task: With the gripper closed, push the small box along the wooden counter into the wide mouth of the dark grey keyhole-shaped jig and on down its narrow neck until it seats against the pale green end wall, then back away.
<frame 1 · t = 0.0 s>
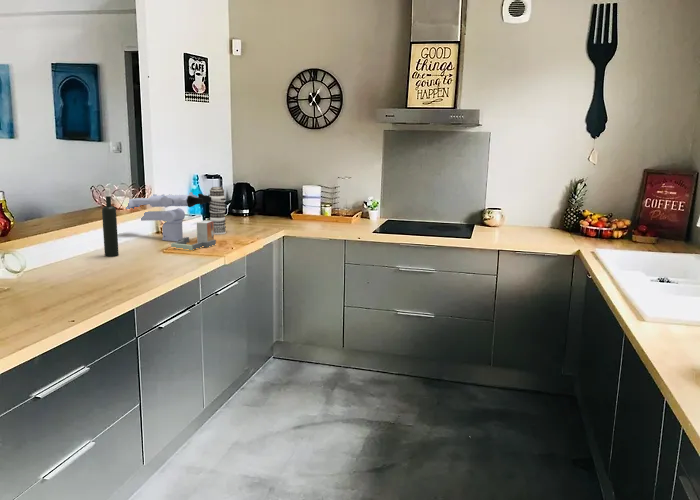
hand: (206, 199, 291), 22 cm above the worktop, tool horizontal, fingers open, 7 cm apart
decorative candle: (217, 233, 323), on the worktop
keyhole jig: (191, 246, 286), on the worktop
small box: (205, 242, 299), on the worktop
wine bottle: (111, 256, 264), on the worktop
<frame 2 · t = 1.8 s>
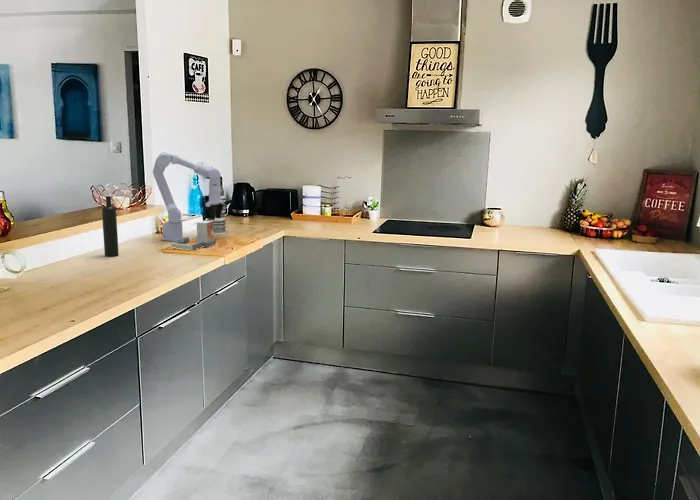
hand: (215, 218, 305), 10 cm above the worktop, tool pointing down, fingers open, 5 cm apart
nothing on the worktop moved.
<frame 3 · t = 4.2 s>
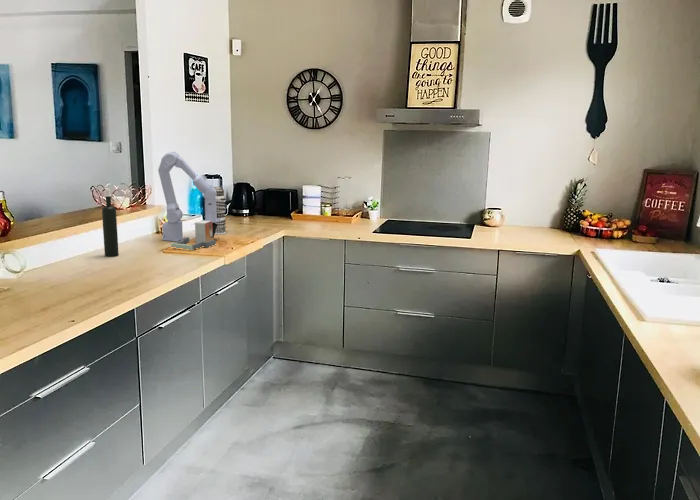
hand: (211, 237, 303), 1 cm above the worktop, tool pointing down, fingers closed
small box: (204, 242, 298), on the worktop, touching gripper
everything else where it was.
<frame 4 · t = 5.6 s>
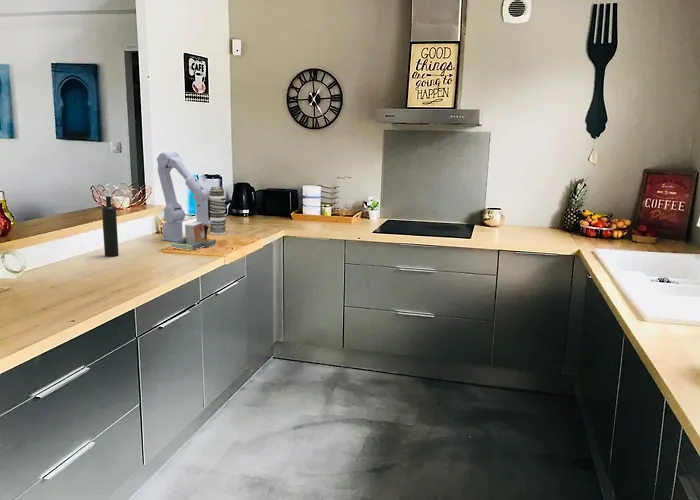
hand: (203, 240, 296), 1 cm above the worktop, tool pointing down, fingers closed, pressing on small box
small box: (196, 244, 292), on the worktop, touching gripper
everything else where it was.
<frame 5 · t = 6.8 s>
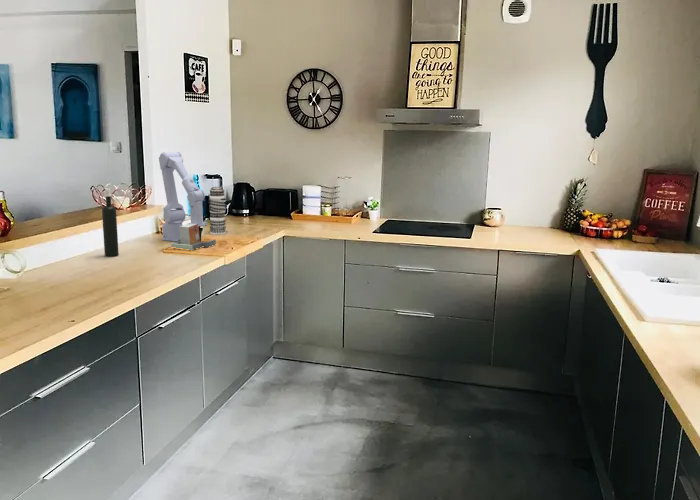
hand: (197, 242, 291), 1 cm above the worktop, tool pointing down, fingers closed, pressing on small box
small box: (190, 246, 287), on the worktop, touching gripper
everything else where it was.
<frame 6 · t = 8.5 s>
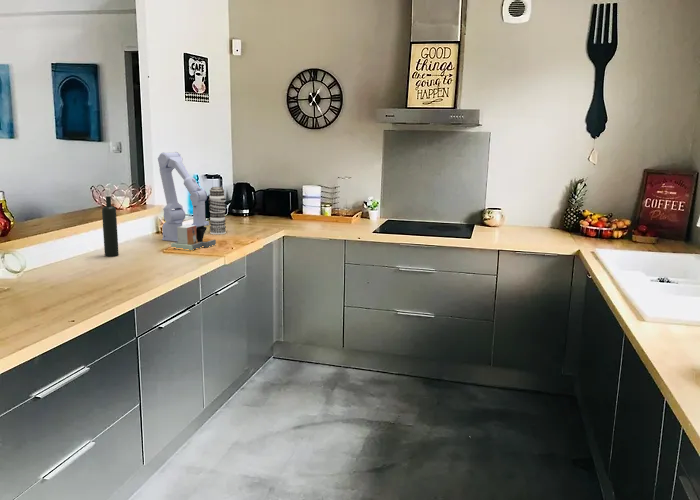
hand: (199, 241, 293), 1 cm above the worktop, tool pointing down, fingers closed
small box: (187, 248, 285), on the worktop
everything else where it was.
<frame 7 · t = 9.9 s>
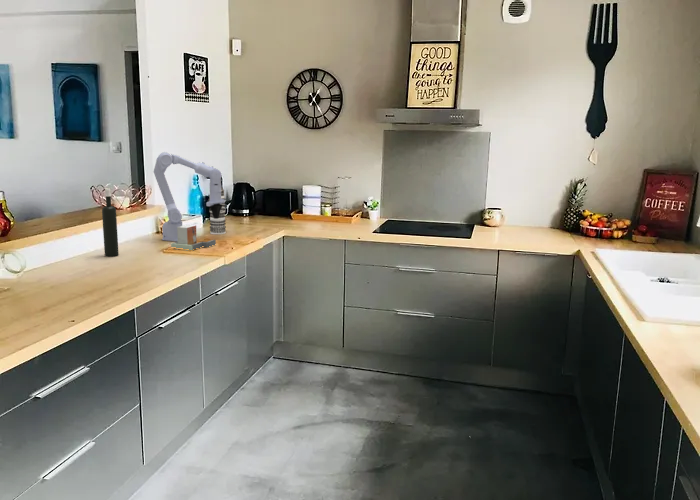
hand: (216, 218, 307), 10 cm above the worktop, tool pointing down, fingers closed
nothing on the worktop moved.
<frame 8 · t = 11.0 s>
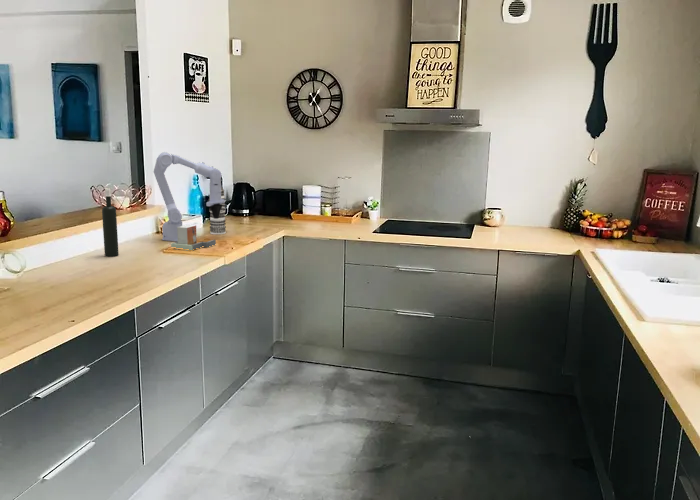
hand: (216, 218, 307), 10 cm above the worktop, tool pointing down, fingers closed
nothing on the worktop moved.
at the end: small box 0.7 cm from the target spot, on the worktop; small box tilted 0° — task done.
